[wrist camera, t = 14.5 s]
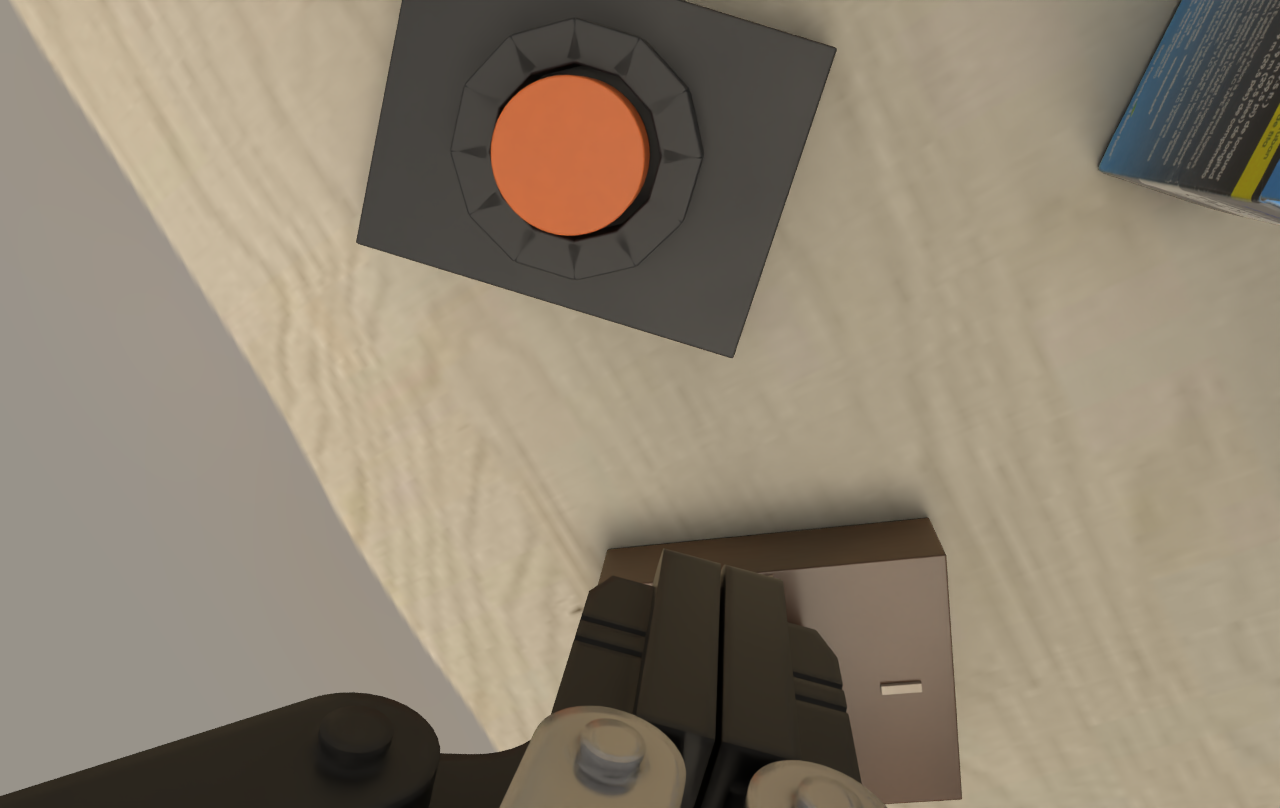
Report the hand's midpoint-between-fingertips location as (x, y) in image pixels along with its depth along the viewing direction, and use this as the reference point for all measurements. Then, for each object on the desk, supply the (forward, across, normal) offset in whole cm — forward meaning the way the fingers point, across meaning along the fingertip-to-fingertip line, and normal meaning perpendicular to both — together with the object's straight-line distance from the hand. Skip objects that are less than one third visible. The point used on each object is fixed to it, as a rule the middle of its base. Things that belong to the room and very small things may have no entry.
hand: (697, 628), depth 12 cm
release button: (+19, +5, -4) cm, 20 cm away
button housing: (+22, +6, -4) cm, 23 cm away
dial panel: (+23, -6, +13) cm, 27 cm away
